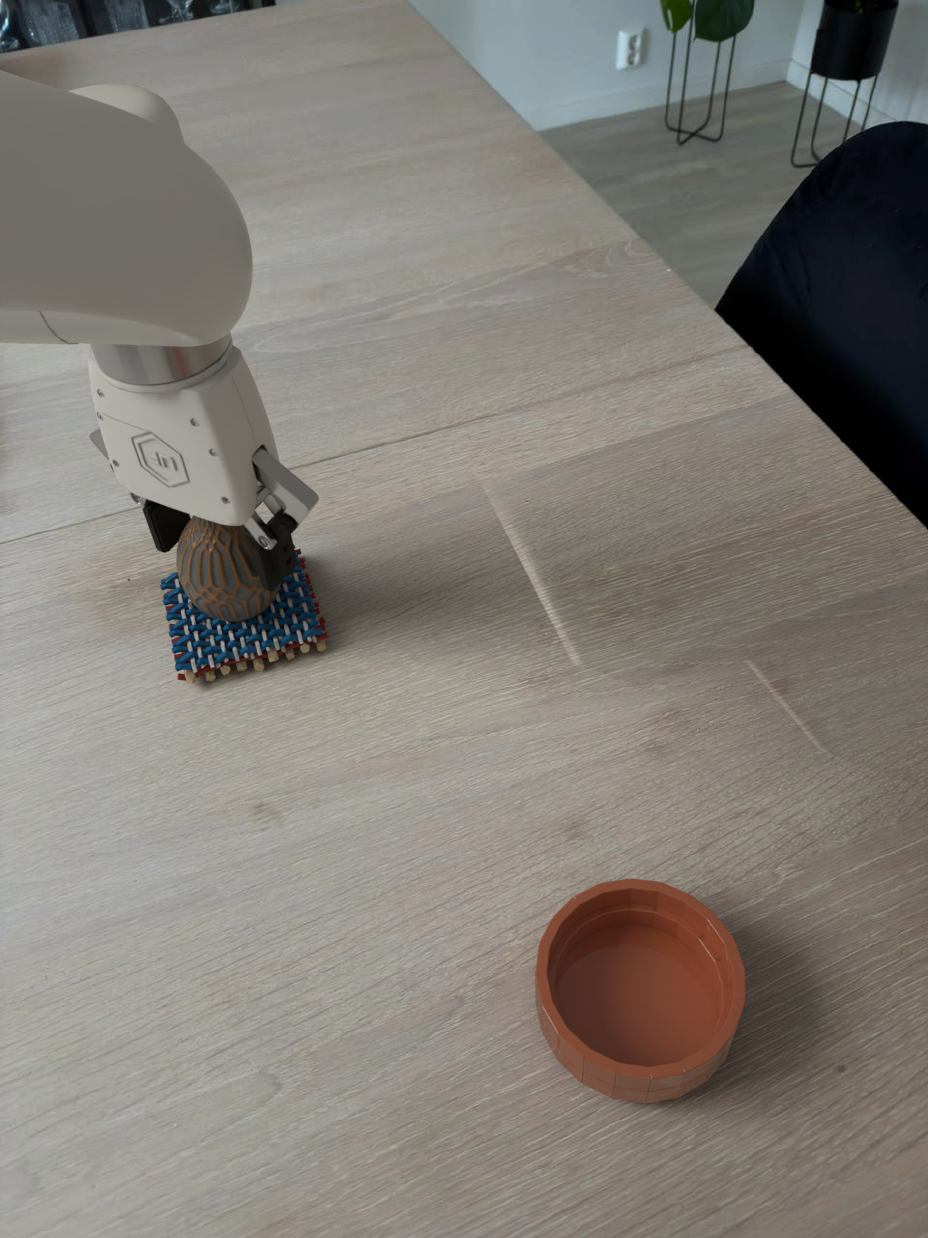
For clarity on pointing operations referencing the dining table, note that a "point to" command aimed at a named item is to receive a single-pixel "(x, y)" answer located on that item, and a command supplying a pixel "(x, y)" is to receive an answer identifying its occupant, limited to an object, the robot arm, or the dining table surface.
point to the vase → (221, 571)
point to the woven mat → (243, 629)
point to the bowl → (639, 990)
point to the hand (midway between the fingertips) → (226, 556)
